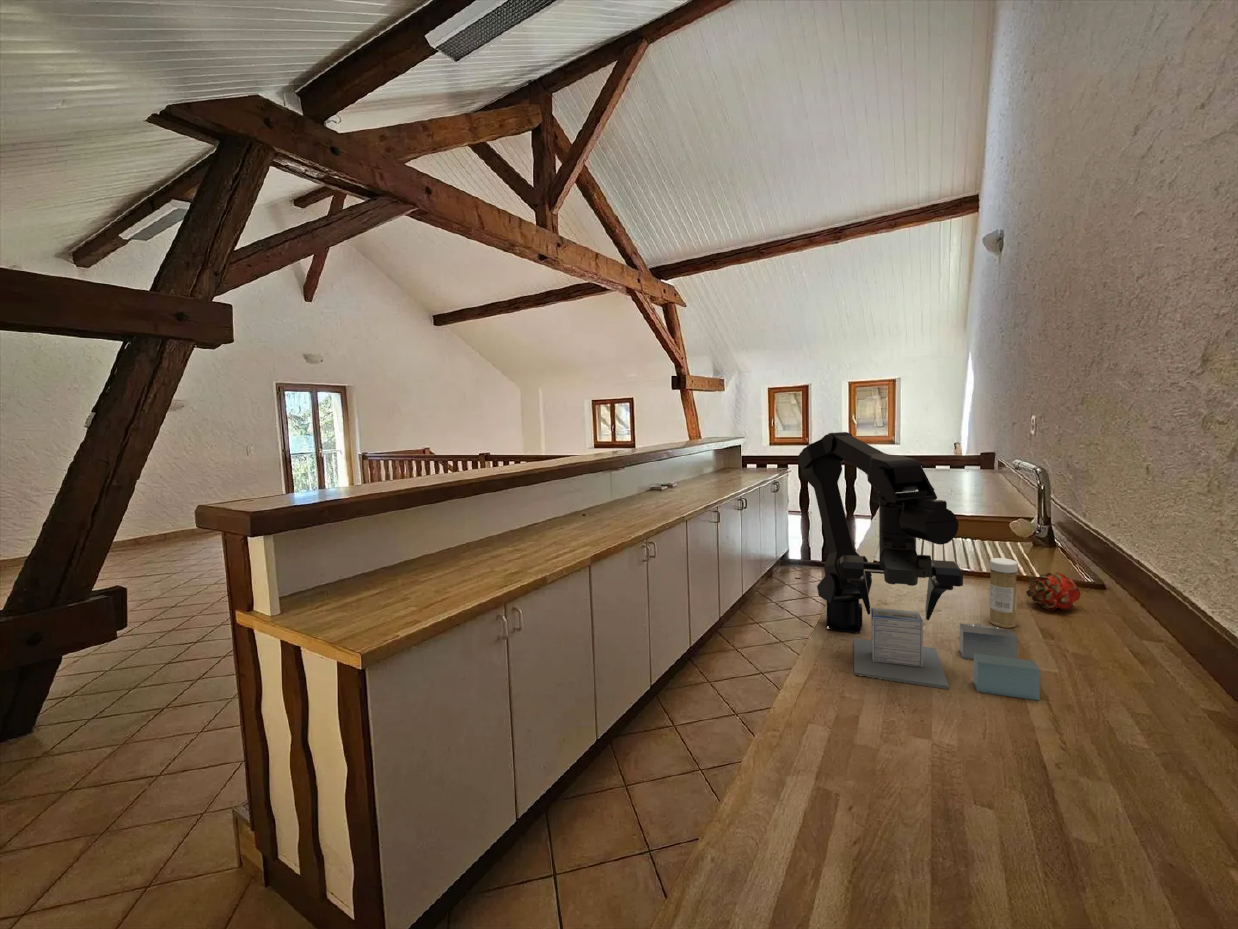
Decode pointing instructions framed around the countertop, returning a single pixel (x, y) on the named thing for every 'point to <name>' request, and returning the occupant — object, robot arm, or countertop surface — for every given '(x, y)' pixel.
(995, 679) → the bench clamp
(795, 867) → the countertop surface
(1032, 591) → the dragon fruit
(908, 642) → the medicine box
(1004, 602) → the sprinkles bottle
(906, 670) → the rubber mat
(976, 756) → the countertop surface
